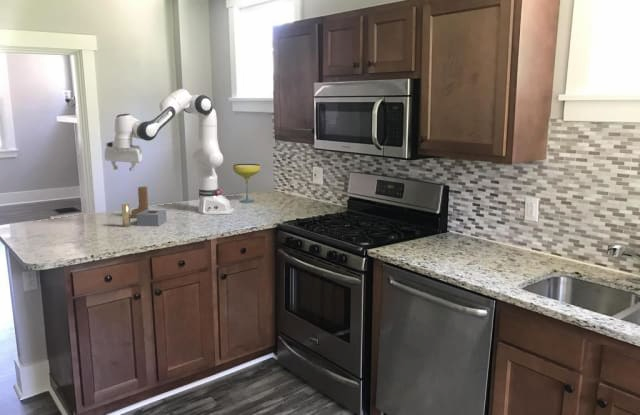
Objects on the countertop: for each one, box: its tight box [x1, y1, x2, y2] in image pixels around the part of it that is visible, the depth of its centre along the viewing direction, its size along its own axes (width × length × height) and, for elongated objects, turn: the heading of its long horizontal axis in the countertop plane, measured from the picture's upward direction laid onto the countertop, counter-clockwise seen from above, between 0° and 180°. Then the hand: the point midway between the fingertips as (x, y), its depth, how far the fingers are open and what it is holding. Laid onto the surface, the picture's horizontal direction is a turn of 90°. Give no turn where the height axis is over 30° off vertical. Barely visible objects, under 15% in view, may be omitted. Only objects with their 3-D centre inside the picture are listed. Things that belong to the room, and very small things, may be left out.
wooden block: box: [130, 186, 149, 219], centre depth 305 cm, size 9×4×18 cm, turn 99°
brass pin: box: [121, 203, 132, 228], centre depth 284 cm, size 4×4×12 cm
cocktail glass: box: [232, 163, 261, 204], centre depth 356 cm, size 18×18×25 cm
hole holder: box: [136, 209, 167, 227], centre depth 291 cm, size 12×12×6 cm
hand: (123, 170), depth 281 cm, fingers open, 8 cm apart
